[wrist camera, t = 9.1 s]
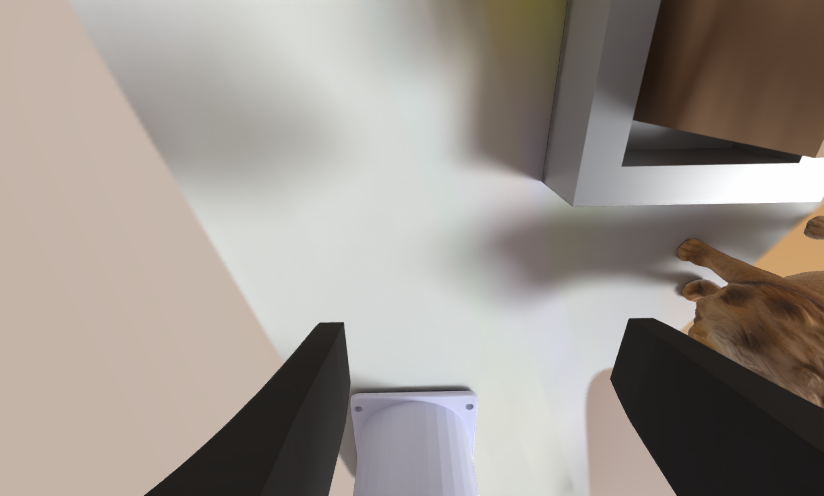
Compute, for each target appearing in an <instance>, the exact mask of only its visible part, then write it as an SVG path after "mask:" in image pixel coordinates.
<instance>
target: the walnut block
mask: <svg viewBox="0 0 824 496" xmlns="http://www.w3.org/2000/svg"><path fill="white" fill-rule="evenodd" d="M633 121H638V122H643V123H648V124H652V125H657V126H662V127H667V128H672V129H677V130H681V131H686V132H691V133H696V134H701V135H705V136H710V137H715V138H720V139H725V140H730V141H734V142H739V143H744V144H749V145H754V146H758V147H763V148H768V149H773V150H778V151H783V152H787V153H792V154H797V155H802V156H807V157H812V158H824V0H662V1H661V3H660V7H659V11H658V15H657V19H656V23H655V28H654V32H653V36H652V40H651V44H650V49H649V53H648V57H647V61H646V65H645V69H644V74H643V78H642V82H641V86H640V90H639V95H638V99H637V103H636V107H635V111H634V115H633Z"/></svg>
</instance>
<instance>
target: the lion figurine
mask: <svg viewBox="0 0 824 496" xmlns="http://www.w3.org/2000/svg"><path fill="white" fill-rule="evenodd" d="M804 234H805V235H806V236H808V237H810V238H813V239H824V216H817V217H815V218H813V219H811V220H809V221H808V223H807V226H806V228H805V230H804ZM678 256H679V259H680V260H683V261H691V262H692V263H694V264H695V265H699V266H703V267H707V268H709V269H711V270H713V271H714V272H715V273H716V274H717V275H718V276H719V277H721V278H722V279H723V280H725V281H726V282H728V283H729V284H728V285H727V286H725V287H723V288H721V287H720V286H718V285H717V284H715V283H714V282H712V281H709V280H706V279H702V280H694V281H691V282H689V283H688V284H686V285H685V286H684V289H683V290H682V293H683V295H684V296H685V298H686V299H687V300H690V301H694V302H696V301H697V302H696V310H695V311H696V312H695V316H696V317H695V319H694V325H693V326H692V327H691V328H690V329H689V332H688V336H689V337H691V338H693V339H695V340H697V341H699V342H700V343H702V344H704V345H706V346H708V347H709V348H711V349H713V350H715V351H717V352H718V353H720V354H722V355H724V356H726V357H727V358H729V359H731V360H733V361H735V362H736V363H738V364H740V365H742V366H744V367H746V368H747V369H749V370H751V371H753V372H755V373H756V374H758V375H760V376H762V377H764V378H766V379H768V380H769V381H771V382H773V383H775V384H777V385H779V386H781V387H783V388H784V389H786V390H788V391H790V392H792V393H794V394H796V395H798V396H800V397H802V398H804V399H806V400H808V401H810V402H812V403H814V404H815V405H817V406H819V407H821V408H823V409H824V271H813V272H804V273H800V274H795V275H792V276H787V277H784V278H782V277H780V276H778V275H776V274H773V273H771V272H768V271H765V270H762V269H759V268H757V267H754V266H752V265H749V264H747V263H745V262H743V261H741V260H738V259H735V258H733V257H730V256H728V255H726V254H724V253H722V252H720V251H718V250H716V249H714V248H712V247H711V246H709V245H707V244H705V243H704V242H702V241H700V240H697V239H689V240H687V241H685V242H684V243H683V244H682V245H681V246H680V247H679V249H678Z"/></svg>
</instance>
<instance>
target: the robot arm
mask: <svg viewBox="0 0 824 496" xmlns="http://www.w3.org/2000/svg"><path fill="white" fill-rule="evenodd" d="M610 380H611V382H612V384H613V387H614V389H615V391H616V393H617V396H618V398H619V400H620V402H621V404H622V406H623V408H624V410H625V412H626V414H627V416H628V418H629V420H630V422H631V423H632V425H633V427H634V428H635V430H636V431H637V433H638V435H639V436H640V438H641V439H642V441H643V443H644V445H645V446H646V448H647V449H648V451H649V453H650V454H651V456H652V457H653V459H654V460H655V462H656V464H657V465H658V467H659V468H660V470H661V471H662V473H663V475H664V476H665V478H666V479H667V481H668V483H669V484H670V486H671V487H672V489H673V490H674V492H675V493H676V495H677V496H824V409H823V408H821V407H819V406H817V405H815V404H814V403H812V402H810V401H808V400H806V399H804V398H802V397H800V396H798V395H796V394H794V393H792V392H790V391H788V390H786V389H784V388H783V387H781V386H779V385H777V384H775V383H773V382H771V381H769V380H768V379H766V378H764V377H762V376H760V375H758V374H756V373H755V372H753V371H751V370H749V369H747V368H746V367H744V366H742V365H740V364H738V363H736V362H735V361H733V360H731V359H729V358H727V357H726V356H724V355H722V354H720V353H718V352H717V351H715V350H713V349H711V348H709V347H708V346H706V345H704V344H702V343H700V342H699V341H697V340H695V339H693V338H691V337H689V336H688V335H686V334H684V333H682V332H680V331H678V330H676V329H674V328H673V327H671V326H669V325H667V324H665V323H663V322H660V321H658V320H656V319H654V318H629V320H628V323H627V326H626V330H625V333H624V336H623V339H622V342H621V345H620V349H619V352H618V355H617V358H616V361H615V365H614V368H613V371H612V374H611V378H610ZM350 383H351V382H350V374H349V365H348V356H347V347H346V338H345V329H344V322H330V323H319V324H318V325H317V326H316V327H315V328H314V329H313V330H312V331H311V333H310V334H309V335H308V336H307V337H306V339H305V340H304V341H303V342H302V343H301V345H300V346H299V347H298V348H297V349H296V351H295V352H294V353H293V354H292V355H291V356H290V358H289V359H288V360H287V361H286V362H285V363H284V364H283V366H282V367H281V368H280V369H279V370H278V371H277V372H276V373H275V374H274V375H273V377H272V378H271V379H270V380H269V381H268V382H267V383H266V384H265V386H264V387H263V388H262V389H261V390H260V391H259V392H258V393H257V394H256V395H255V396H254V397H253V398H252V399H251V400H250V401H249V402H248V403H247V404H246V405H245V406H244V407H243V408H242V409H241V410H240V411H239V412H238V413H237V414H236V415H235V416H234V417H233V418H232V419H231V420H230V421H229V422H228V423H227V424H226V425H225V426H224V427H223V428H222V429H221V430H220V431H219V432H218V433H217V434H215V435H214V436H213V437H212V438H211V439H210V440H209V441H208V442H207V443H206V444H205V445H204V446H203V447H201V448H200V449H199V450H198V451H197V452H196V453H195V454H194V455H192V456H191V457H190V458H189V459H188V460H187V461H186V462H184V463H183V464H182V465H181V466H180V467H178V468H177V469H176V470H175V471H174V472H172V473H171V474H170V475H169V476H168V477H166V478H165V479H164V480H163V481H162V482H160V483H159V484H158V485H157V486H156V487H154V488H153V489H152V490H150V491H149V492H148V493H147V494H145V495H144V496H328V495H329V491H330V486H331V482H332V478H333V474H334V470H335V465H336V461H337V457H338V453H339V449H340V444H341V440H342V436H343V431H344V427H345V423H346V415H347V408H348V400H349V391H350ZM468 404H469V405H468ZM477 405H478V398H477V394H476V393H475V392H473V391H441V392H395V393H357V394H354V395H352V396H351V400H350V407H351V415H352V422H353V430H354V437H355V445H356V452H357V460H358V461H357V469H356V476H355V484H354V492H353V496H479V492H478V487H477V481H476V475H475V469H474V463H473V450H474V439H475V427H476V416H477ZM357 406H360V407H357Z"/></svg>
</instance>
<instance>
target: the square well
mask: <svg viewBox="0 0 824 496" xmlns="http://www.w3.org/2000/svg"><path fill="white" fill-rule="evenodd" d="M661 1H662V0H568V4H567V11H566V18H565V25H564V32H563V39H562V46H561V53H560V60H559V66H558V73H557V80H556V87H555V94H554V101H553V108H552V115H551V122H550V129H549V136H548V143H547V150H546V157H545V164H544V171H543V178H542V182H543V183H544V184H545V185H546V186H548V187H549V188H550V189H551V190H553V191H554V192H555V193H556V194H558V195H559V196H560V197H561V198H562V199H564V200H565V201H566V202H567V203H569V204H570V205H571V206H572V207H585V206H633V205H681V204H729V203H777V202H820V201H821V200H822V198H823V196H824V158H812V157H807V156H802V155H797V154H792V153H787V152H783V151H778V150H773V149H768V148H763V147H758V146H754V145H749V144H744V143H739V142H734V141H730V140H725V139H720V138H715V137H710V136H705V135H701V134H696V133H691V132H686V131H681V130H677V129H672V128H667V127H662V126H657V125H652V124H648V123H643V122H638V121H633V115H634V111H635V107H636V103H637V99H638V95H639V90H640V86H641V82H642V78H643V74H644V69H645V65H646V61H647V57H648V53H649V49H650V44H651V40H652V36H653V32H654V28H655V23H656V19H657V15H658V11H659V7H660V3H661Z"/></svg>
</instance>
